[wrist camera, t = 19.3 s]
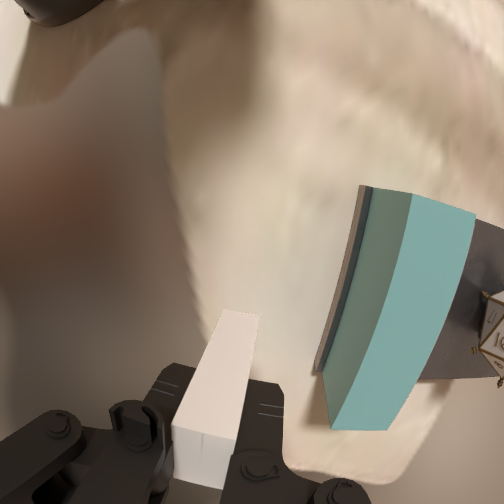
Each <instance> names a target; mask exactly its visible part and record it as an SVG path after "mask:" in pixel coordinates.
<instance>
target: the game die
mask: <svg viewBox="0 0 504 504" xmlns="http://www.w3.org/2000/svg"><path fill="white" fill-rule="evenodd" d="M482 297H484V298H486V299H487V304H486V310H485V316H484V321H483V326H482V331H481V336H480V340H479V345H478V347H476V346H475V347H472V348H471V350H470V351H469V353H473V354H474V353H477V351H480V352H481V354H482V355H483V356H484V357H485V358H486V360H487V361H488V362H489V364H490V365H491V366H492V367H493V369H494V370H495V371H496V373H497V374H498V375H499V376H500V380H499V381H498V383H497V385H498V388H499V387H500V386H502V383H503V379H504V290H503V291H501V292H498V293H496V294H494V295H491V296H489V295H488V293H487V291H482Z"/></svg>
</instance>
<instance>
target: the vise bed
mask: <svg viewBox="0 0 504 504" xmlns="http://www.w3.org/2000/svg"><path fill="white" fill-rule="evenodd" d="M372 192H373V187H369V186H364V185H360V186H359V192H358V197H357V202H356V207H355V212H354V217H353V221H352V226H351V231H350V235H349V239H348V244H347V248H346V252H345V256H344V260H343V264H342V268H341V272H340V276H339V280H338V284H337V287H336V291H335V295H334V298H333V302H332V305H331V309H330V312H329V316H328V319H327V323H326V326H325V329H324V332H323V336H322V339H321V342H320V345H319V348H318V351H317V354H316V357H315V360H314V361H315V368H316V372H323V369H324V367H325V364H326V361H327V358H328V356H329V353H330V350H331V347H332V344H333V341H334V338H335V335H336V332H337V329H338V326H339V323H340V319H341V316H342V313H343V310H344V306H345V303H346V300H347V296H348V293H349V289H350V286H351V282H352V279H353V275H354V271H355V267H356V264H357V260H358V256H359V252H360V248H361V243H362V239H363V235H364V231H365V226H366V222H367V217H368V212H369V207H370V202H371V197H372ZM474 225H475V226H474V230H473V235H472V239H471V243H470V247H469V251H468V254H467V258H466V261H465V265H464V268H463V271H462V275H461V278H460V281H459V284H458V287H457V290H456V293H455V296H454V299H453V301H452V304H451V307H450V309H449V312H448V315H447V317H446V320H445V322H444V325H443V327H442V329H441V332H440V334H439V336H438V339H437V341H436V343H435V345H434V348H433V350H432V352H431V354H430V356H429V358H428V360H427V362H426V364H425V366H424V368H423V370H422V372H421V374H420V376H419V378H418V379H460V378H481V377H495V376H499V375H498V374H497V373H496V371H495V370H494V369H493V367H492V366H491V365H490V364H489V362H488V361H487V360H486V358H485V357H484V356H483V355H482V354H481V352H480V351H477V353H474V354H473V353H469V351H470V350H471V348H472V347H475V346H476V347H478V345H479V340H480V336H481V331H482V326H483V321H484V316H485V310H486V304H487V299H486V298H484V297H482V291H487V293H488V295H489V296H491V295H494V294H496V293H498V292H501V291H503V290H504V229H502V228H500V227H497V226H494V225H492V224H489V223H486V222H484V221H481V220H478V219H475V223H474Z"/></svg>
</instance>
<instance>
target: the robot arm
mask: <svg viewBox="0 0 504 504" xmlns="http://www.w3.org/2000/svg"><path fill="white" fill-rule="evenodd" d="M15 1H16V3H17V4H18V5H19V6H21V7H22V8H23V10H24V13H25V15H26V16H27V17H28V18H29V19H30V20H32V21H34V22H36V23H38V24H41V25H43V26H47V27H52V26H58V25H61V24H64V23H66V22H69V21H71V20H73V19H75V18H77V17H78V16H80V15H82V14H83V13H85V12H87V11H88V10H90V9H91V8H93V7H94V6H95V5H97V4H98V3H100V2H101V1H102V0H15ZM259 320H260V316H259V315H253V314H248V313H243V312H238V311H233V310H228V309H224V311H223V313H222V315H221V317H220V319H219V321H218V324H217V326H216V328H215V330H214V332H213V334H212V337H211V339H210V341H209V343H208V345H207V347H206V350H205V352H204V354H203V356H202V359H201V360H200V363H199V365H198V367H197V368H193V367H188V366H185V365H181V364H177V363H172V364H171V365H169V366H168V367H166V368H164V369H163V370H162V371H161V373H160V375H159V376H158V378H157V380H156V382H155V383H154V384H153V386H152V388H151V390H150V391H149V392H148V394H147V395H146V397H145V399H144V400H143V401H138V400H125V401H122V402H119V403H117V404H115V405H114V406H112V407H111V408H110V409H109V413H110V418H111V422H112V426H113V429H111V430H104V429H96V428H91V427H85V426H81V424H80V421H79V420H78V419H77V418H76V417H75V415H73V414H71V413H69V412H67V411H62V410H50V411H48V412H46V413H43V414H42V415H40V416H39V417H37V418H36V419H34V420H33V421H31V422H30V423H28V424H27V425H25V426H24V427H22V428H20V429H19V430H18V431H16V432H14V433H13V434H11V435H10V436H8V437H7V438H5V439H4V440H2V441H0V504H164V503H165V500H166V497H167V495H168V489H169V484H168V483H169V480H170V478H171V475H172V473H173V477H174V478H177V479H180V480H184V481H188V482H191V483H196V484H200V485H204V486H208V487H212V488H217V489H222V490H223V491H222V496H221V500H220V504H371V501H370V499H369V497H368V495H367V493H366V492H365V490H364V489H363V488H362V486H361V485H359V484H358V483H356V482H355V481H353V480H349V479H345V478H333V479H330V480H327V481H325V482H323V483H322V484H320V483H317V482H314V481H311V480H308V479H305V478H302V477H300V476H298V475H296V474H295V473H293V472H292V471H291V470H289V468H288V467H287V466H286V465H285V463H284V460H283V457H282V442H283V415H284V409H283V408H284V394H283V392H282V390H281V388H280V386H279V385H278V384H275V383H269V382H263V381H258V380H252V379H249V373H250V368H251V363H252V358H253V352H254V347H255V342H256V336H257V331H258V326H259Z"/></svg>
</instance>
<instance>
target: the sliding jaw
mask: <svg viewBox="0 0 504 504" xmlns="http://www.w3.org/2000/svg"><path fill="white" fill-rule="evenodd" d="M475 219H476V214H473V213H470V212H468V211H465V210H462V209H459V208H456V207H453V206H450V205H447V204H444V203H441V202H438V201H435V200H432V199H429V198H425V197H422V196H419V195H416V194H412V193H406V192H400V191H393V190H387V189H380V188H373V192H372V197H371V202H370V207H369V212H368V217H367V222H366V226H365V231H364V235H363V239H362V243H361V248H360V252H359V256H358V260H357V264H356V267H355V271H354V275H353V279H352V282H351V286H350V289H349V293H348V296H347V300H346V303H345V306H344V310H343V313H342V316H341V319H340V323H339V326H338V329H337V332H336V335H335V338H334V341H333V344H332V347H331V350H330V353H329V356H328V358H327V361H326V364H325V367H324V369H323V372H322V375H323V381H324V388H325V394H326V401H327V408H328V415H329V422H330V429H333V430H387V429H388V428H389V426H390V425H391V423H392V422H393V420H394V419H395V418H396V416H397V415H398V413H399V411H400V410H401V408H402V406H403V405H404V403H405V401H406V400H407V398H408V396H409V394H410V393H411V391H412V389H413V387H414V385H415V384H416V382H417V380H418V378H419V376H420V374H421V372H422V370H423V368H424V366H425V364H426V362H427V360H428V358H429V356H430V354H431V352H432V350H433V348H434V345H435V343H436V341H437V339H438V336H439V334H440V332H441V329H442V327H443V325H444V322H445V320H446V317H447V315H448V312H449V309H450V307H451V304H452V301H453V299H454V296H455V293H456V290H457V287H458V284H459V281H460V278H461V275H462V271H463V268H464V265H465V261H466V258H467V254H468V251H469V247H470V243H471V239H472V235H473V230H474V226H475V225H474V223H475Z"/></svg>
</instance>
